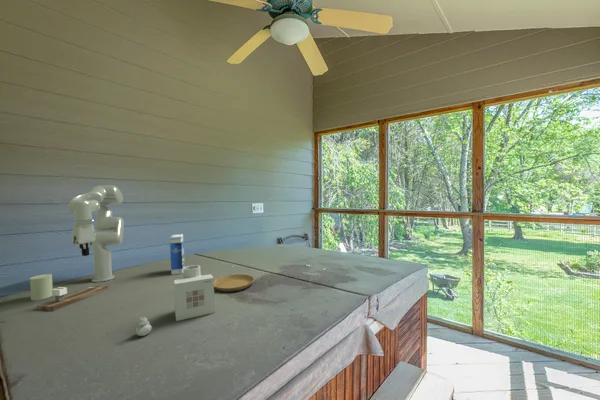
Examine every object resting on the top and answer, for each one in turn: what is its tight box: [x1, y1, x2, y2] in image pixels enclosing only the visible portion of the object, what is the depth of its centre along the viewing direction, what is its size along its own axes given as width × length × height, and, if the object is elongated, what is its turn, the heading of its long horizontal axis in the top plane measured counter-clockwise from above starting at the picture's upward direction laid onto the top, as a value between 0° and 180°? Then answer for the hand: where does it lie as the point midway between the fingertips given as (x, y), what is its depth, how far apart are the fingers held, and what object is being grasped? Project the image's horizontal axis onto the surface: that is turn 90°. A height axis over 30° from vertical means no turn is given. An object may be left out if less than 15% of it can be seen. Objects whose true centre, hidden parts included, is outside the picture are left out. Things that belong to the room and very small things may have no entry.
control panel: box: [173, 264, 216, 322], centre depth 131 cm, size 16×19×20 cm
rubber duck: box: [135, 315, 153, 337], centre depth 109 cm, size 5×7×8 cm
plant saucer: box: [214, 273, 255, 293], centre depth 164 cm, size 24×24×3 cm
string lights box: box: [169, 233, 186, 275], centre depth 196 cm, size 13×8×26 cm, turn 17°
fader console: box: [36, 284, 109, 312], centre depth 150 cm, size 10×30×2 cm, turn 168°
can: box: [29, 273, 54, 301], centre depth 153 cm, size 9×9×12 cm
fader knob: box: [52, 286, 68, 301], centre depth 142 cm, size 5×4×6 cm
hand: (85, 255), depth 155 cm, fingers closed
